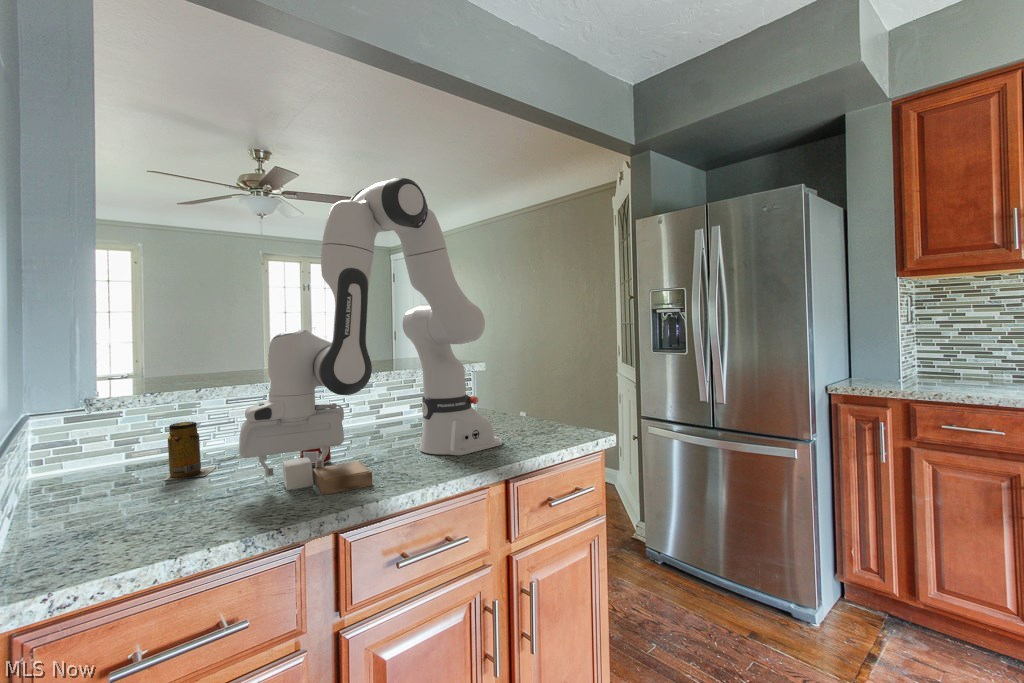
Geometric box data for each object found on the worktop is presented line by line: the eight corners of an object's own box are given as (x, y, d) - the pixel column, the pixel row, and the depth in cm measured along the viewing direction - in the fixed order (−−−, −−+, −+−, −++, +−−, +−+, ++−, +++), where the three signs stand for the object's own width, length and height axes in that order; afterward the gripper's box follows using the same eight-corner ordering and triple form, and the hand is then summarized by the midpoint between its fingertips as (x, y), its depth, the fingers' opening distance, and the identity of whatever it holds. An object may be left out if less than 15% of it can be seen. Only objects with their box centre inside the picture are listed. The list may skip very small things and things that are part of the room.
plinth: (359, 472, 109) (359, 459, 109) (372, 485, 101) (371, 471, 101) (313, 481, 104) (312, 468, 104) (322, 495, 95) (321, 480, 95)
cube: (308, 479, 106) (307, 457, 106) (312, 485, 102) (311, 462, 101) (283, 484, 103) (282, 461, 103) (286, 490, 99) (285, 466, 99)
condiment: (175, 471, 114) (173, 421, 113) (215, 468, 116) (213, 418, 115) (161, 481, 107) (158, 428, 106) (204, 477, 109) (201, 425, 108)
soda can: (320, 468, 113) (318, 418, 113) (294, 467, 115) (292, 417, 114) (336, 460, 120) (334, 412, 120) (312, 459, 121) (310, 412, 121)
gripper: (340, 400, 109) (341, 460, 110) (237, 410, 98) (239, 476, 99) (347, 404, 104) (348, 467, 104) (238, 414, 93) (241, 484, 93)
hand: (294, 472), depth 102 cm, fingers open, 8 cm apart
